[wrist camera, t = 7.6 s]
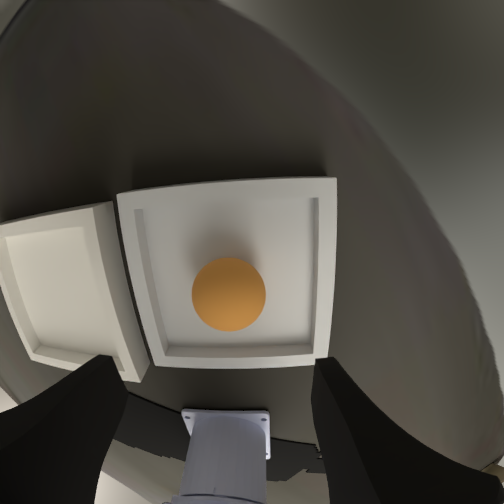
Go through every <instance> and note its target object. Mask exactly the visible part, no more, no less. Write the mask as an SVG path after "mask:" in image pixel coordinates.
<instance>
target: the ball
mask: <svg viewBox="0 0 504 504" xmlns="http://www.w3.org/2000/svg"><path fill="white" fill-rule="evenodd" d="M265 300H266V289H265V285H264V282H263V279H262V277H261V275H260V274H259V273H258V271H257V270H256V269H255V268H254V267H253V266H252V265H250V264H249V263H247V262H245V261H243V260H241V259H237V258H220V259H216V260H214V261H212V262H210V263H208V264H207V265H205V266H204V267H203V268H202V269H201V270H200V271H199V273H198V274H197V276H196V278H195V280H194V282H193V286H192V303H193V306H194V309H195V311H196V313H197V314H198V316H199V317H200V318H201V320H202V321H203V322H204V323H206V324H207V325H209V326H210V327H212V328H214V329H217V330H220V331H228V332H231V331H238V330H241V329H244V328H246V327H248V326H249V325H251V324H252V323H253V322H254V321H255V320H256V319H257V318H258V317H259V315H260V314H261V312H262V310H263V308H264V305H265Z"/></svg>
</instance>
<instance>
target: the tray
mask: <svg viewBox="0 0 504 504" xmlns="http://www.w3.org/2000/svg"><path fill="white" fill-rule="evenodd" d="M117 202H118V210H119V217H120V224H121V230H122V236H123V242H124V247H125V253H126V258H127V263H128V268H129V272H130V277H131V281H132V286H133V290H134V294H135V298H136V302H137V306H138V310H139V314H140V317H141V321H142V325H143V328H144V332H145V335H146V338H147V342H148V345H149V348H150V351H151V354H152V357H153V360H154V363H155V366H165V367H181V368H208V369H248V368H275V367H291V366H304V365H315V359H317V358H326V357H327V355H328V347H329V338H330V329H331V319H332V308H333V295H334V281H335V263H336V236H337V178H334V177H330V176H294V177H266V178H247V179H231V180H218V181H206V182H195V183H185V184H176V185H167V186H159V187H151V188H143V189H136V190H130V191H126V192H123V193H119V194H117ZM220 258H237V259H241V260H243V261H245V262H247V263H249V264H250V265H252V266H253V267H254V268H255V269H256V270H257V271H258V273H259V274H260V275H261V277H262V279H263V282H264V285H265V289H266V300H265V305H264V308H263V310H262V312H261V314H260V315H259V317H258V318H257V319H256V320H255V321H254V322H253V323H252V324H251V325H249V326H248V327H246V328H244V329H241V330H238V331H231V332H228V331H220V330H217V329H214V328H212V327H210V326H209V325H207V324H206V323H204V322H203V321H202V320H201V318H200V317H199V316H198V314H197V313H196V311H195V309H194V306H193V303H192V286H193V282H194V280H195V278H196V276H197V274H198V273H199V271H200V270H201V269H202V268H203V267H204V266H205V265H207V264H208V263H210V262H212V261H214V260H216V259H220Z"/></svg>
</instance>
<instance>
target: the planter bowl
mask: <svg viewBox="0 0 504 504" xmlns="http://www.w3.org/2000/svg"><path fill="white" fill-rule="evenodd" d="M482 472H485V473H488V474H492V475H496V476H498V478H499V479H500V481H501V483H502V482H504V467H502V466H499V465H495V464H494V463H492V464H490V465H489V466H487V467H486V468H484V469H483V470H482Z"/></svg>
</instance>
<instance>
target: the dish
mask: <svg viewBox="0 0 504 504" xmlns="http://www.w3.org/2000/svg"><path fill="white" fill-rule="evenodd" d="M0 286H1V289H2V292H3V295H4V298H5V300H6V303H7V306H8V309H9V311H10V314H11V316H12V319H13V321H14V324H15V326H16V328H17V331H18V333H19V335H20V337H21V340H22V342H23V344H24V346H25V348H26V350H27V352H28V354H29V356H30V358H31V360H34V361H37V362H41V363H44V364H48V365H51V366H55V367H59V368H63V369H67V370H72V371H75V370H76V369H77V368H79V367H80V366H82V365H83V364H85V363H86V362H87V361H89V360H91V359H92V358H94V357H95V356H97V355H99V354H102V355H109V356H112V357H113V359H114V362H115V364H116V367H117V369H118V371H119V374H120V376H121V378H122V380H125V381H132V382H139V383H141V381H142V379H143V377H144V375H145V373H146V370H147V368H148V366H149V364H150V360H149V357H148V354H147V351H146V348H145V345H144V342H143V338H142V335H141V332H140V328H139V325H138V322H137V318H136V314H135V311H134V307H133V303H132V299H131V295H130V291H129V287H128V283H127V279H126V274H125V270H124V265H123V260H122V255H121V250H120V245H119V239H118V233H117V227H116V221H115V214H114V207H113V201H107V202H101V203H95V204H89V205H83V206H77V207H71V208H66V209H61V210H55V211H50V212H45V213H41V214H36V215H31V216H27V217H22V218H18V219H14V220H9V221H5V222H2V223H0Z"/></svg>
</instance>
